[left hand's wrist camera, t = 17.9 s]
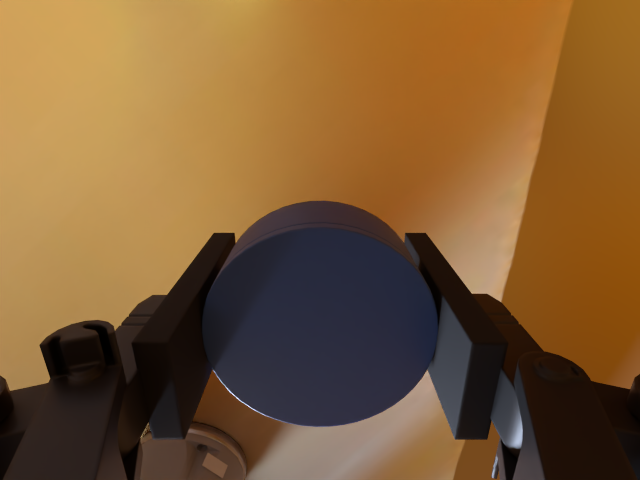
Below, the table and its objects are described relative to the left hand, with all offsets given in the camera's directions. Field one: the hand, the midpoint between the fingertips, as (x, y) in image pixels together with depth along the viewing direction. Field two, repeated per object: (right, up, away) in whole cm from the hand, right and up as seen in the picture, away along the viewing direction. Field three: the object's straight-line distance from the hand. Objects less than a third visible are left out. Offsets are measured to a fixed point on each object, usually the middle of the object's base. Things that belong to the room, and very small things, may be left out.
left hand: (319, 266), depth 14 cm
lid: (0, -2, -4) cm, 4 cm away
